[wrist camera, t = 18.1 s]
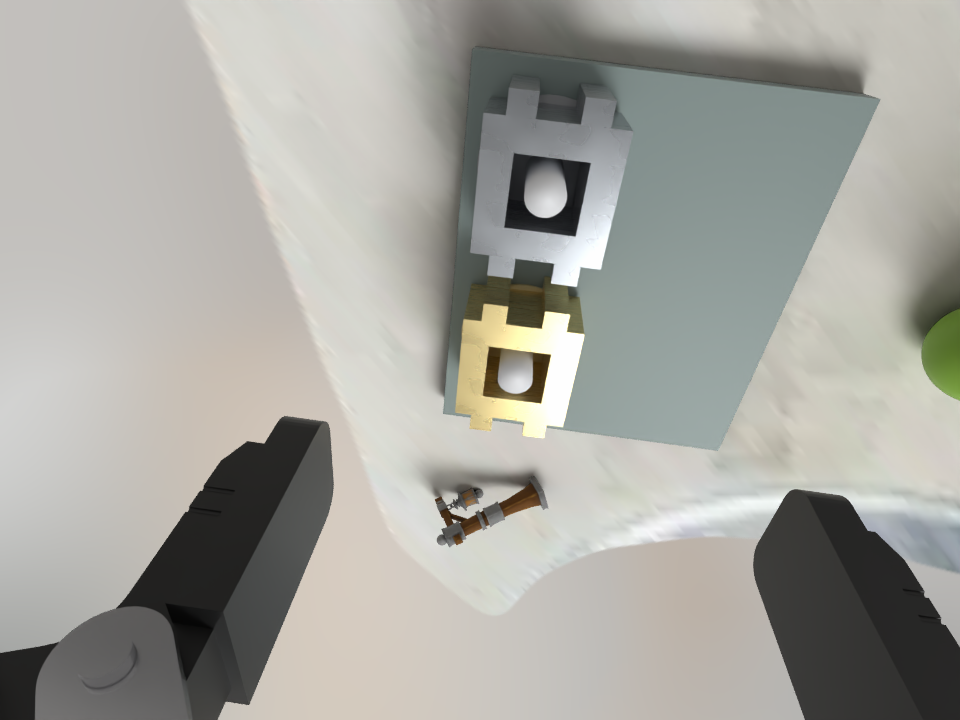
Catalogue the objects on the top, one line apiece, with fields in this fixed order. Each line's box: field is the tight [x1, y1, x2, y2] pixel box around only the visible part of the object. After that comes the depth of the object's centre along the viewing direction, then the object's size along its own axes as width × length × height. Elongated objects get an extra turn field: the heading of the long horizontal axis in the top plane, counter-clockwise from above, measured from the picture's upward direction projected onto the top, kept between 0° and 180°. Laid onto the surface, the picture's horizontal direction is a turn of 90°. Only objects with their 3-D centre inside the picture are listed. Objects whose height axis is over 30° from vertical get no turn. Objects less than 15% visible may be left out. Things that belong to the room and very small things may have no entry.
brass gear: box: [455, 276, 585, 438], centre depth 31 cm, size 6×8×4 cm
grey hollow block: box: [470, 75, 634, 287], centre depth 25 cm, size 6×8×4 cm
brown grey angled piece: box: [435, 476, 549, 547], centre depth 41 cm, size 2×8×5 cm, turn 105°
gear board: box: [443, 46, 880, 451], centre depth 29 cm, size 18×21×6 cm
